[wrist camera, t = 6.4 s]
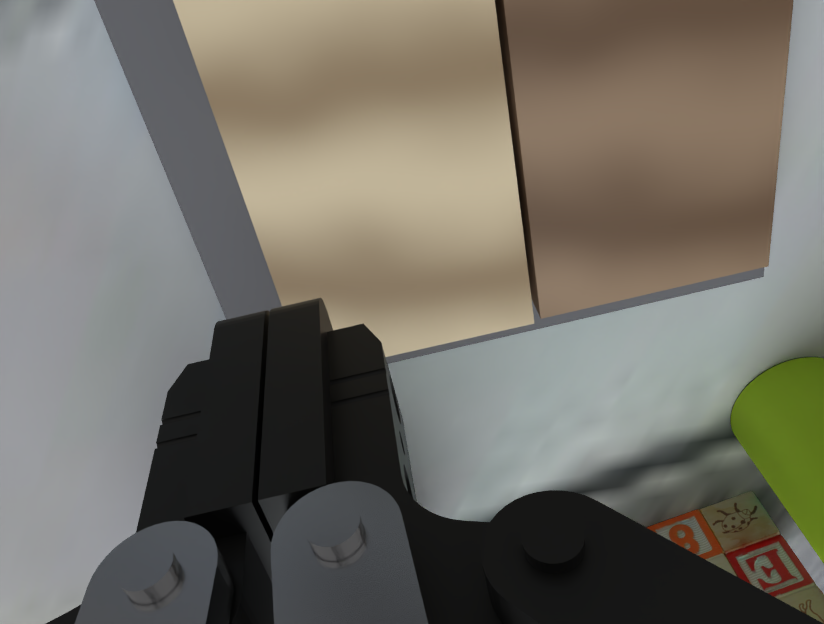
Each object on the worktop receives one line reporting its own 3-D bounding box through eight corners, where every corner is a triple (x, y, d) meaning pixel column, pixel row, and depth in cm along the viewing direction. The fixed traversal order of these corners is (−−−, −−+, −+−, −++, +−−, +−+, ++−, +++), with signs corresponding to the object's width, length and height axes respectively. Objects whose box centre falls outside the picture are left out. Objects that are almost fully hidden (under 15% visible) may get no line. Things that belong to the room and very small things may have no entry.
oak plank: (61, -363, 18) (37, -381, 16) (424, -451, 18) (435, -477, 16) (306, 344, 31) (306, 374, 29) (522, 295, 30) (534, 323, 29)
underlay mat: (-83, -443, 18) (-92, -449, 17) (836, -664, 17) (849, -676, 17) (257, 386, 32) (257, 393, 32) (757, 270, 32) (763, 276, 32)
